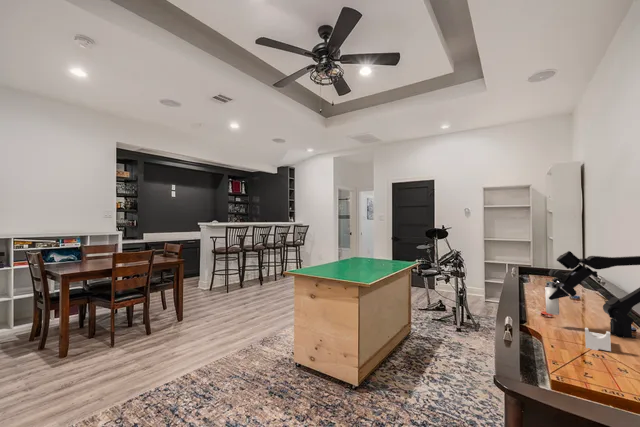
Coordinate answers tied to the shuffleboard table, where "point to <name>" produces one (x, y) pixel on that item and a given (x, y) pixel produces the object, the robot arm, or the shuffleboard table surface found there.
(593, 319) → the shuffleboard table surface
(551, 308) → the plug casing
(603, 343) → the bracket
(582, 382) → the shuffleboard table surface
